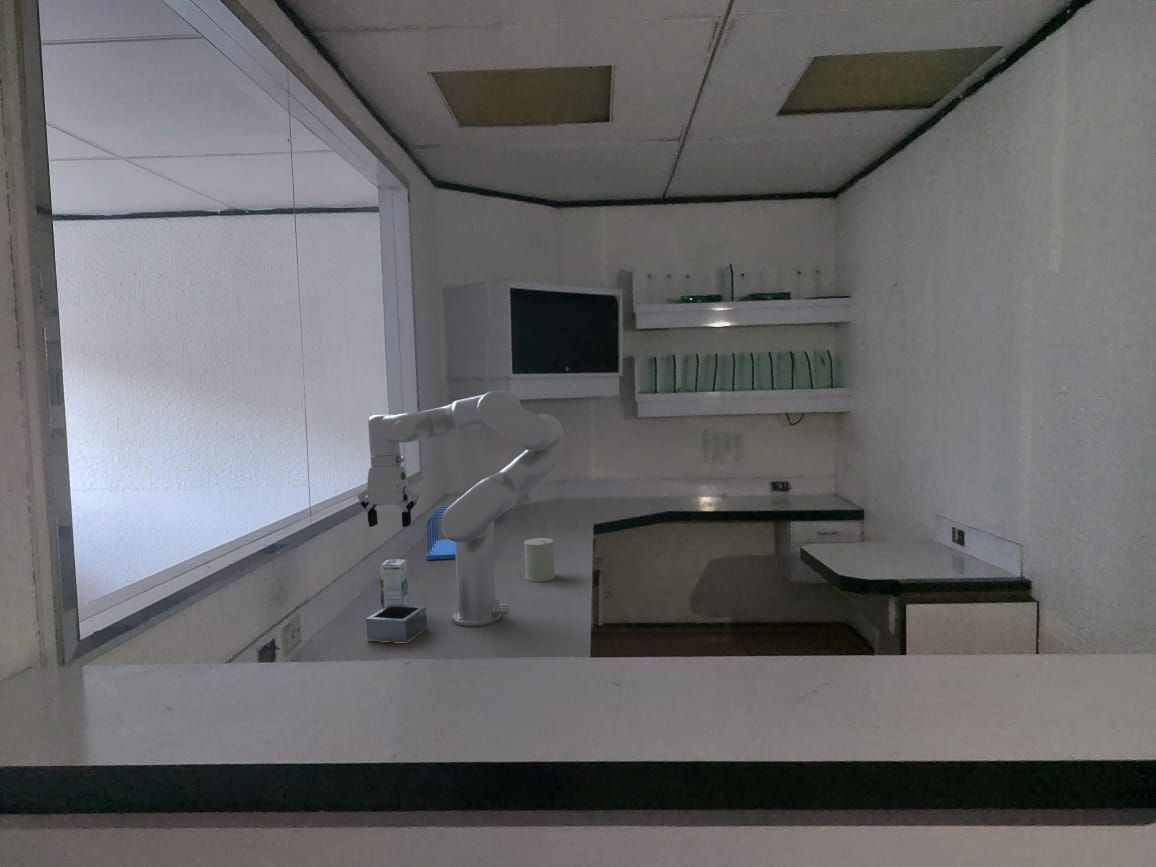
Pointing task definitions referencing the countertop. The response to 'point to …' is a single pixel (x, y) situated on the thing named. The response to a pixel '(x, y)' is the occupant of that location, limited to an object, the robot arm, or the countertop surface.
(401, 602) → the syrup box
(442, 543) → the file sorter
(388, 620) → the shadow box frame
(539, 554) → the can
